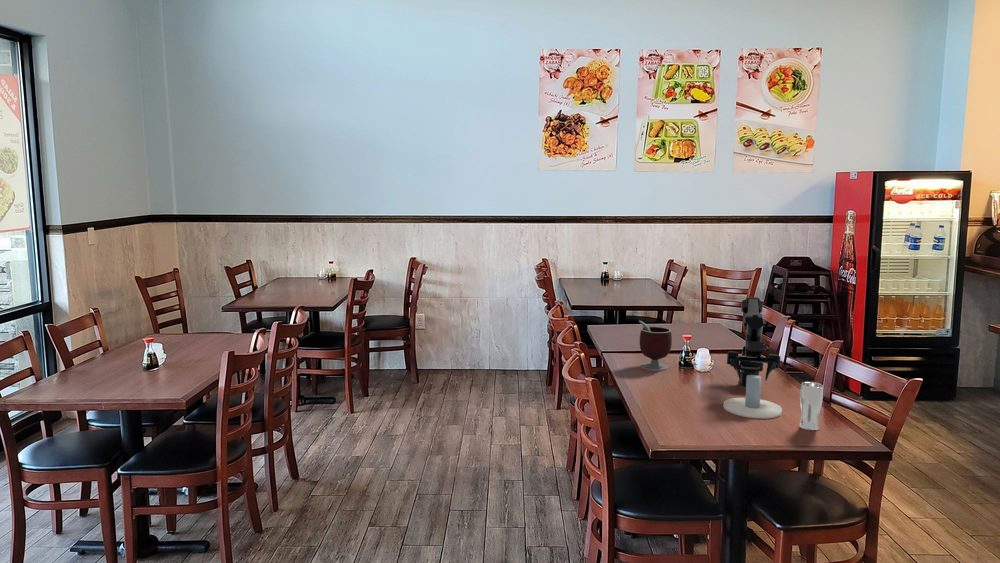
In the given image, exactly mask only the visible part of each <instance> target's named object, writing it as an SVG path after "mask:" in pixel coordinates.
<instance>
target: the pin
mask: <svg viewBox="0 0 1000 563" xmlns="http://www.w3.org/2000/svg"><path fill="white" fill-rule="evenodd" d="M761 390H762V376H761V375H759V376H758V375H747V379H746V386H745V397H744V398H745V406H746V407H748V408H759V407H760V399H761V392H762V391H761Z"/></svg>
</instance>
